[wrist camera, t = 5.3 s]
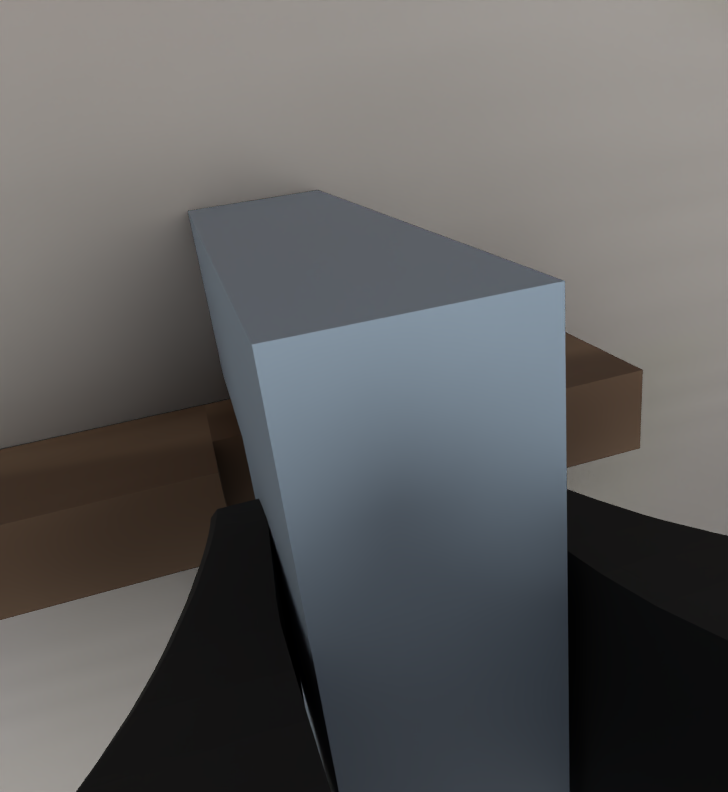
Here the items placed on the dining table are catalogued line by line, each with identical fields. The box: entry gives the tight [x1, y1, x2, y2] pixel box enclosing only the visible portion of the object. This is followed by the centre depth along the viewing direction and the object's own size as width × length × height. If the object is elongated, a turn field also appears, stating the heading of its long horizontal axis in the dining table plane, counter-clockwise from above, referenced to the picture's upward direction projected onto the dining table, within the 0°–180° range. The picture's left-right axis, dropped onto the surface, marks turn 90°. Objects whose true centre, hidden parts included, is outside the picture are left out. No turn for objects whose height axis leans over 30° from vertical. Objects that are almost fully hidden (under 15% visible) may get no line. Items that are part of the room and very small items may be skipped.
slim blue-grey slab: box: [188, 190, 569, 792], centre depth 11 cm, size 9×2×8 cm, turn 6°
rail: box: [0, 332, 643, 620], centre depth 13 cm, size 2×12×3 cm, turn 96°
